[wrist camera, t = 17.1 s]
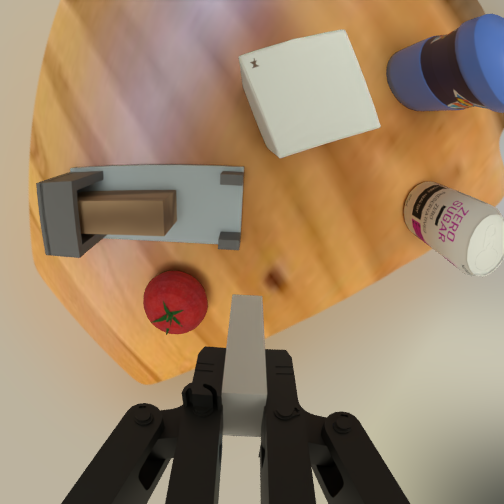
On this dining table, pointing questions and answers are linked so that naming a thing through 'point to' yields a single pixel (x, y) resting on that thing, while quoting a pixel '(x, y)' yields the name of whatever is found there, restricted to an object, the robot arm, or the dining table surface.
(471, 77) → the water bottle
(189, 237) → the board
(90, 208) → the walnut slat
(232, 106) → the dining table surface
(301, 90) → the supplement box
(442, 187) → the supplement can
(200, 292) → the tomato
